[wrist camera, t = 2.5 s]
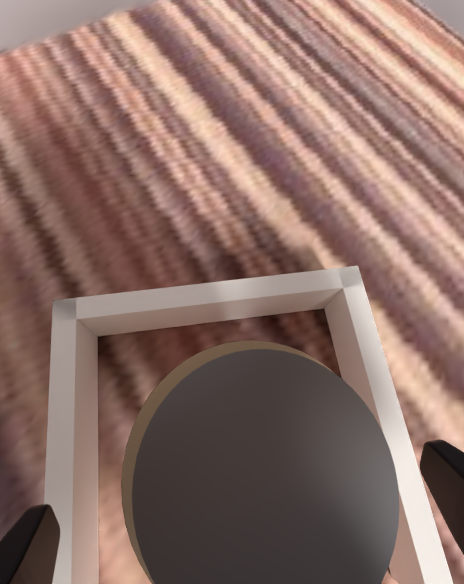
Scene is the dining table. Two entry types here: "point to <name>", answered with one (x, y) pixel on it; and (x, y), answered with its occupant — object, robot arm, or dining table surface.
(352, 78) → the dining table surface
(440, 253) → the dining table surface
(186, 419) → the pepper mill
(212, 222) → the dining table surface
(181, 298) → the u-shaped frame
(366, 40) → the dining table surface
